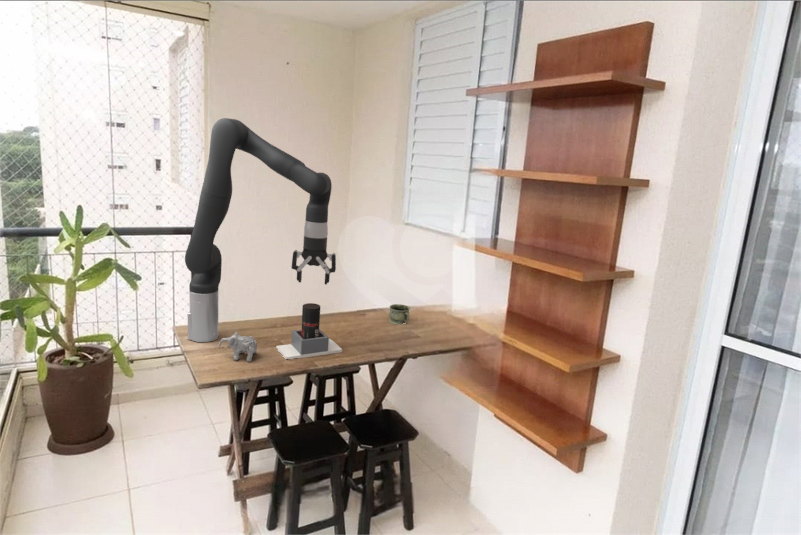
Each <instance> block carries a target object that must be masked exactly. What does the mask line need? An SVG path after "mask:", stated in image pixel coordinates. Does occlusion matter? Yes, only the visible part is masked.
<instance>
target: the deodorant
mask: <svg viewBox="0 0 801 535" xmlns="http://www.w3.org/2000/svg"><path fill="white" fill-rule="evenodd" d="M301 309H302V311H301V312H302V313H301V314H302V315H301V329H300V330H301V337H302V338H303V339H311V338H319V329H320V325H321V324H320V322H321V320H320V319H321V305H320V304H318V303H313V302H311V303H310V302H309V303H303V304H302V308H301Z"/></svg>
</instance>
